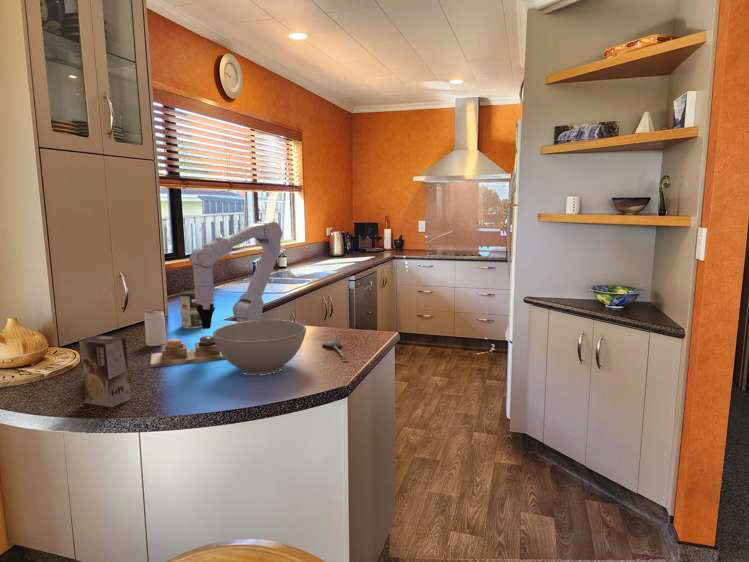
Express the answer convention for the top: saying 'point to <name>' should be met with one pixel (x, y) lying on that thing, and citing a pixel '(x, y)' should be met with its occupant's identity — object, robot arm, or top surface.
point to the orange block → (174, 344)
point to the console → (185, 355)
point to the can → (155, 328)
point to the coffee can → (189, 310)
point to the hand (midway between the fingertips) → (206, 327)
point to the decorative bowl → (259, 344)
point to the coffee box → (105, 370)
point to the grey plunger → (206, 341)
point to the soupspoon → (335, 345)
